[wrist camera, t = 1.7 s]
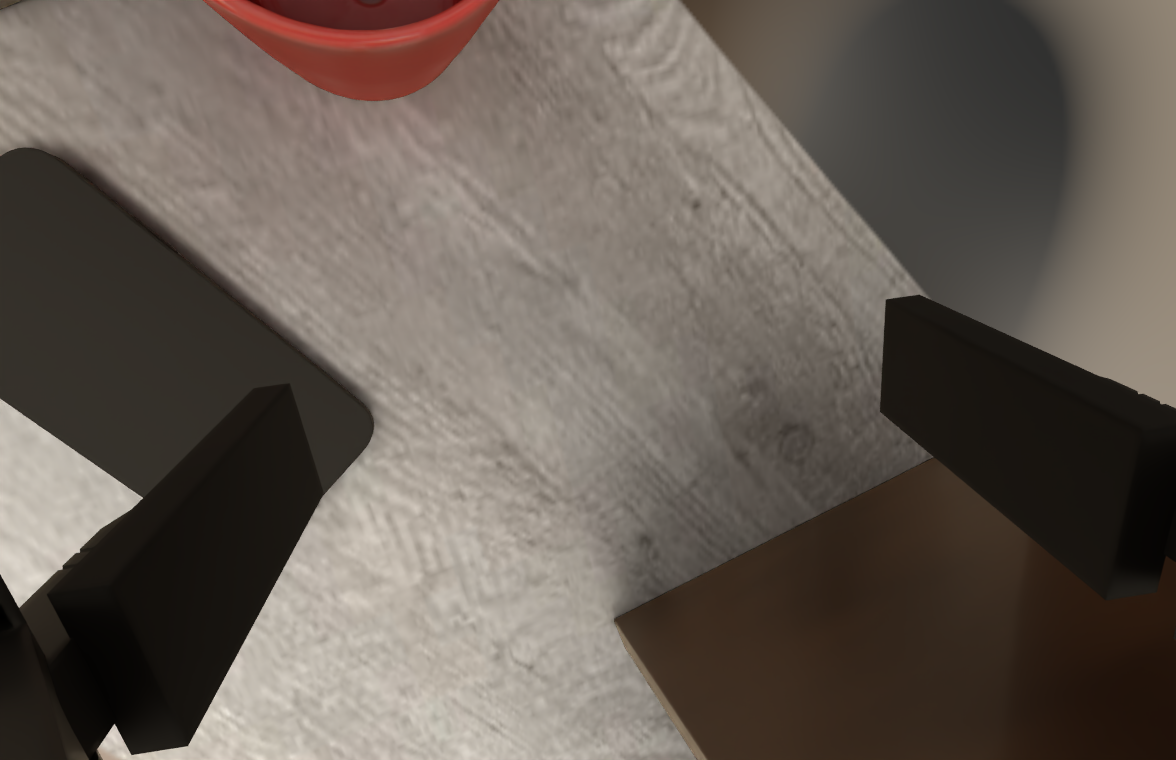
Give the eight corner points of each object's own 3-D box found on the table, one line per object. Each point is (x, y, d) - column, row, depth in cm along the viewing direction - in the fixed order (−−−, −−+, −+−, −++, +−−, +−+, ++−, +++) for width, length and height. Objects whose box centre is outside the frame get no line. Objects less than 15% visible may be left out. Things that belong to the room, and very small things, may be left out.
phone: (250, 575, 25) (-150, 297, 21) (255, 567, 26) (-130, 298, 22) (387, 424, 25) (25, 130, 22) (388, 421, 26) (38, 136, 22)
